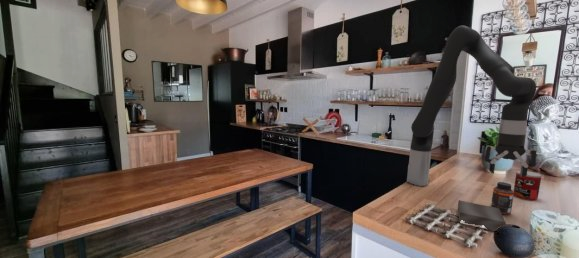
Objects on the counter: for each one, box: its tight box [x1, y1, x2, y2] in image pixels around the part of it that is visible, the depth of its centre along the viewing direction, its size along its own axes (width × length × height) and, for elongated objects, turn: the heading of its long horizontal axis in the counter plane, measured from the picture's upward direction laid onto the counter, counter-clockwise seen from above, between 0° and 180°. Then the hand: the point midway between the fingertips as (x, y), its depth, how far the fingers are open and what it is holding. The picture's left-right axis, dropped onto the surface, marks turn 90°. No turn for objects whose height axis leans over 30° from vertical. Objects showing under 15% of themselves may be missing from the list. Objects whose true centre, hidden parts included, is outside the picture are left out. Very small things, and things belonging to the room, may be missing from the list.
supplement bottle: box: [490, 181, 515, 216], centre depth 93 cm, size 6×6×11 cm
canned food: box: [513, 170, 542, 201], centre depth 108 cm, size 8×8×11 cm
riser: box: [457, 200, 507, 233], centre depth 86 cm, size 12×12×4 cm
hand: (506, 174), depth 92 cm, fingers open, 8 cm apart
